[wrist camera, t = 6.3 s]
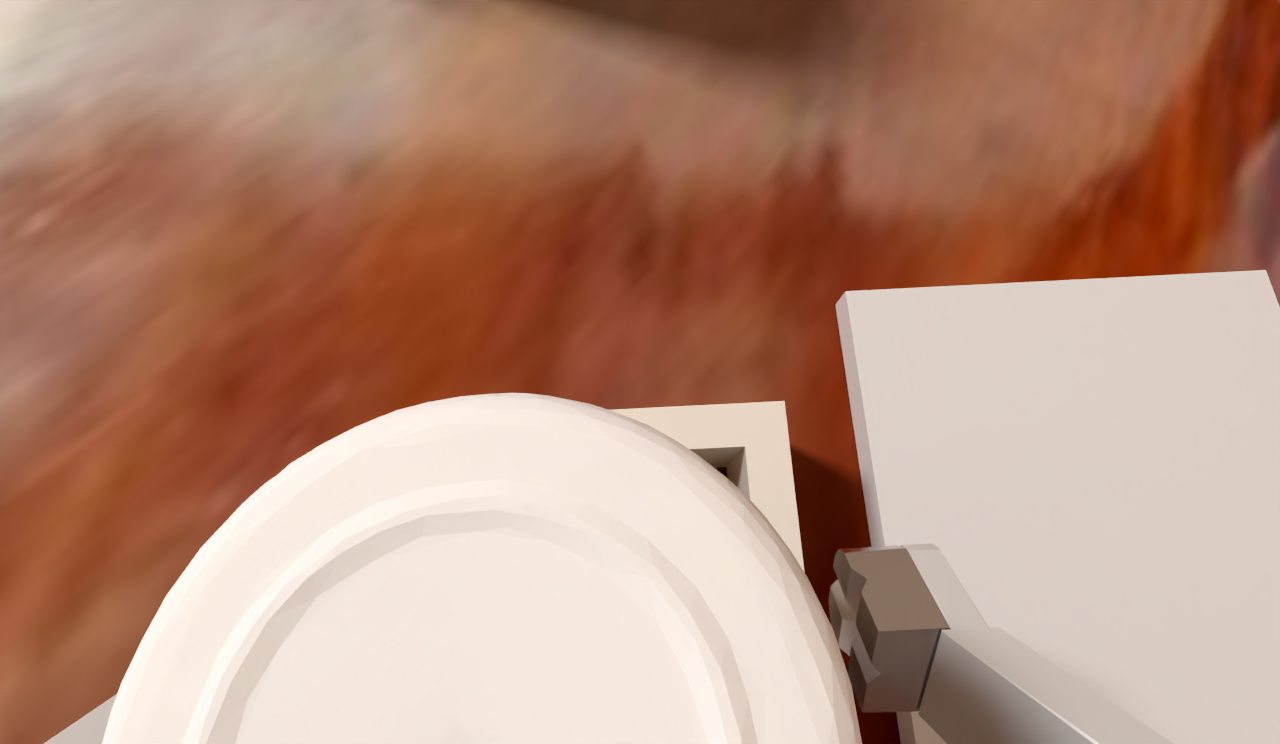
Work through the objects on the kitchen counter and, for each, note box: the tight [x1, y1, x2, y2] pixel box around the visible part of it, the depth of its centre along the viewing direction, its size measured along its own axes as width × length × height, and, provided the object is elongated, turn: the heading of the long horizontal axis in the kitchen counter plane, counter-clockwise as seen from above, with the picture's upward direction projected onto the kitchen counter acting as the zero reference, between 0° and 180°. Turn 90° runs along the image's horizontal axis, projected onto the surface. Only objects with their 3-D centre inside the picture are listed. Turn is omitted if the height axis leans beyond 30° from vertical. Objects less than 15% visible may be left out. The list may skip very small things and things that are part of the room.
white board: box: [835, 270, 1280, 744], centre depth 15 cm, size 20×12×1 cm, turn 3°
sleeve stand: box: [610, 401, 805, 573], centre depth 14 cm, size 9×9×4 cm
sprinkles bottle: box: [102, 393, 862, 744], centre depth 10 cm, size 5×5×13 cm
